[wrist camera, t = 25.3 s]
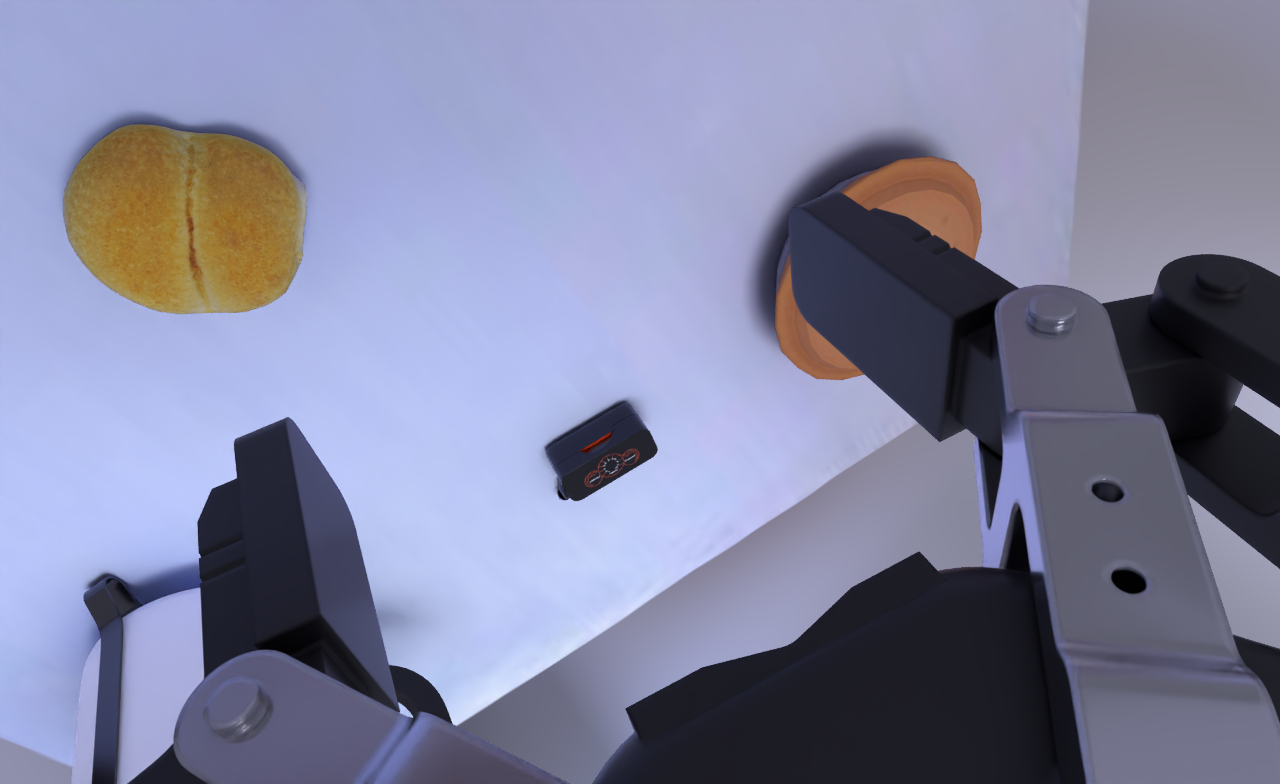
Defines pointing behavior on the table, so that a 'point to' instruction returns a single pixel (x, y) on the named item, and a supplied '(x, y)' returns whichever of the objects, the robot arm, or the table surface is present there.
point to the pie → (901, 187)
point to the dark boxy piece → (600, 452)
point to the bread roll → (186, 219)
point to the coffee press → (158, 681)
